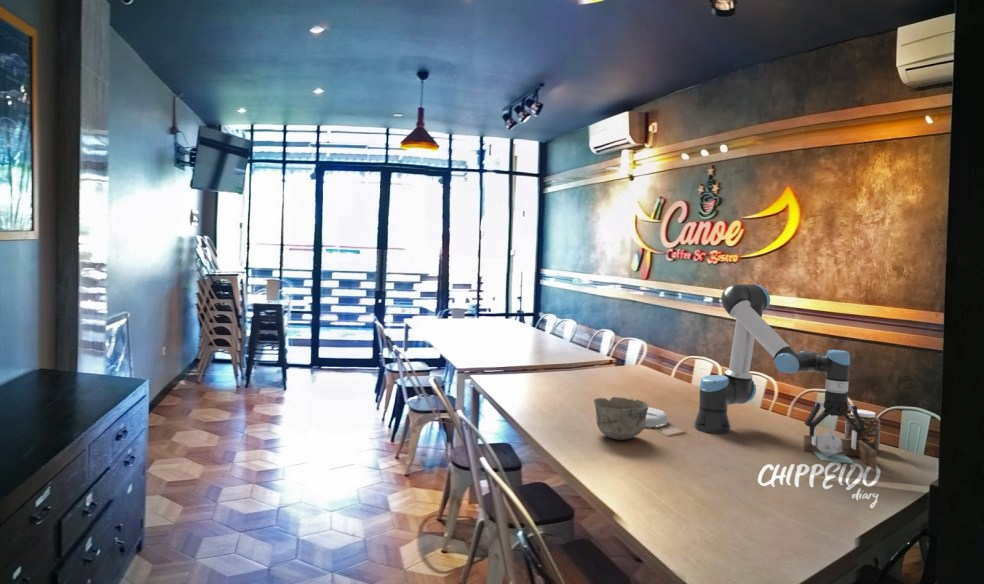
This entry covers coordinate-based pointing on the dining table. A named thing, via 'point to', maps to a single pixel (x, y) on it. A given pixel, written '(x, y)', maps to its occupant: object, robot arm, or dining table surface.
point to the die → (829, 443)
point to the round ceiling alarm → (655, 417)
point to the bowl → (620, 417)
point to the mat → (834, 457)
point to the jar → (871, 425)
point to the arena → (848, 450)
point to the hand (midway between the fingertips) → (833, 446)
